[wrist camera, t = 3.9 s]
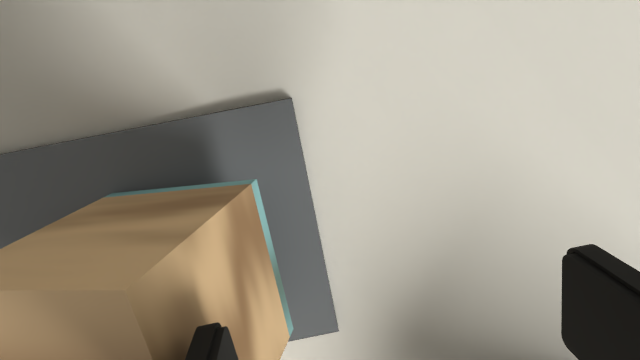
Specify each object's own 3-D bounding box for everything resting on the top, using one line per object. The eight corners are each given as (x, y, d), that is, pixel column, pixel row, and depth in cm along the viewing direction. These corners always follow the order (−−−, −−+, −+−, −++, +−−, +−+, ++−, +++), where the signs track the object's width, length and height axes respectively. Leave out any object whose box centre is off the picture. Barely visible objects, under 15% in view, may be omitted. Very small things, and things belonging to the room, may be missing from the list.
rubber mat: (-295, 211, 16) (-310, 215, 15) (291, 97, 16) (291, 98, 16) (-138, 423, 20) (-147, 430, 19) (337, 326, 20) (338, 331, 20)
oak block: (111, 193, 17) (-83, 290, 10) (256, 179, 14) (125, 290, 8) (161, 324, 19) (25, 472, 12) (293, 328, 17) (212, 509, 10)
